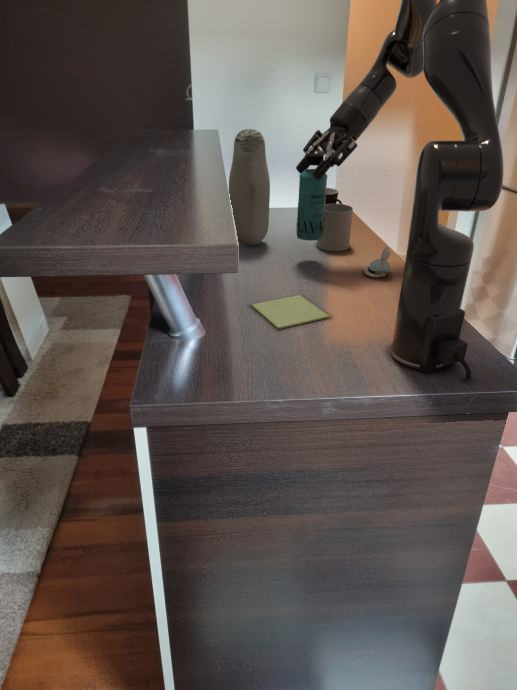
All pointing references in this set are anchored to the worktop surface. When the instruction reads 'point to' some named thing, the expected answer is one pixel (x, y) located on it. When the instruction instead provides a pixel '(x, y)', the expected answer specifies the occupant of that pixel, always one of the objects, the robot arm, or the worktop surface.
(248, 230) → the grey rounded tall figure
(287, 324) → the pad
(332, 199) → the coffee mug
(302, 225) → the beverage bottle
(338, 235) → the cup
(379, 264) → the pacifier
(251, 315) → the worktop surface
